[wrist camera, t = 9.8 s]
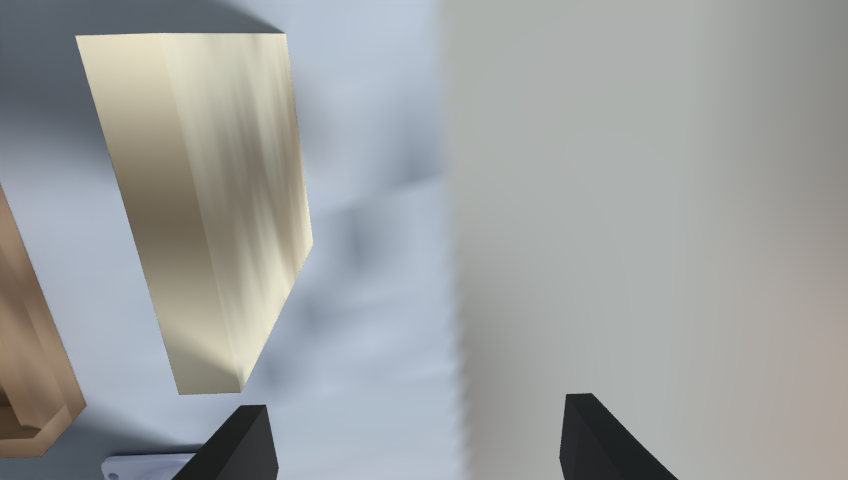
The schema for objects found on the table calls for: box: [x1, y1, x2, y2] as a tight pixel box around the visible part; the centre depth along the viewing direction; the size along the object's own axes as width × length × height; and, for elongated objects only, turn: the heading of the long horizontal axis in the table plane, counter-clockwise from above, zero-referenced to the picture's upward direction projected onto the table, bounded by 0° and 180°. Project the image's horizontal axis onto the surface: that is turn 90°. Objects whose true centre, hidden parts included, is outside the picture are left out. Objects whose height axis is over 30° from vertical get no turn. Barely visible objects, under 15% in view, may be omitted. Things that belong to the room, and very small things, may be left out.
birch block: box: [75, 33, 313, 395], centre depth 14 cm, size 8×2×9 cm, turn 2°
